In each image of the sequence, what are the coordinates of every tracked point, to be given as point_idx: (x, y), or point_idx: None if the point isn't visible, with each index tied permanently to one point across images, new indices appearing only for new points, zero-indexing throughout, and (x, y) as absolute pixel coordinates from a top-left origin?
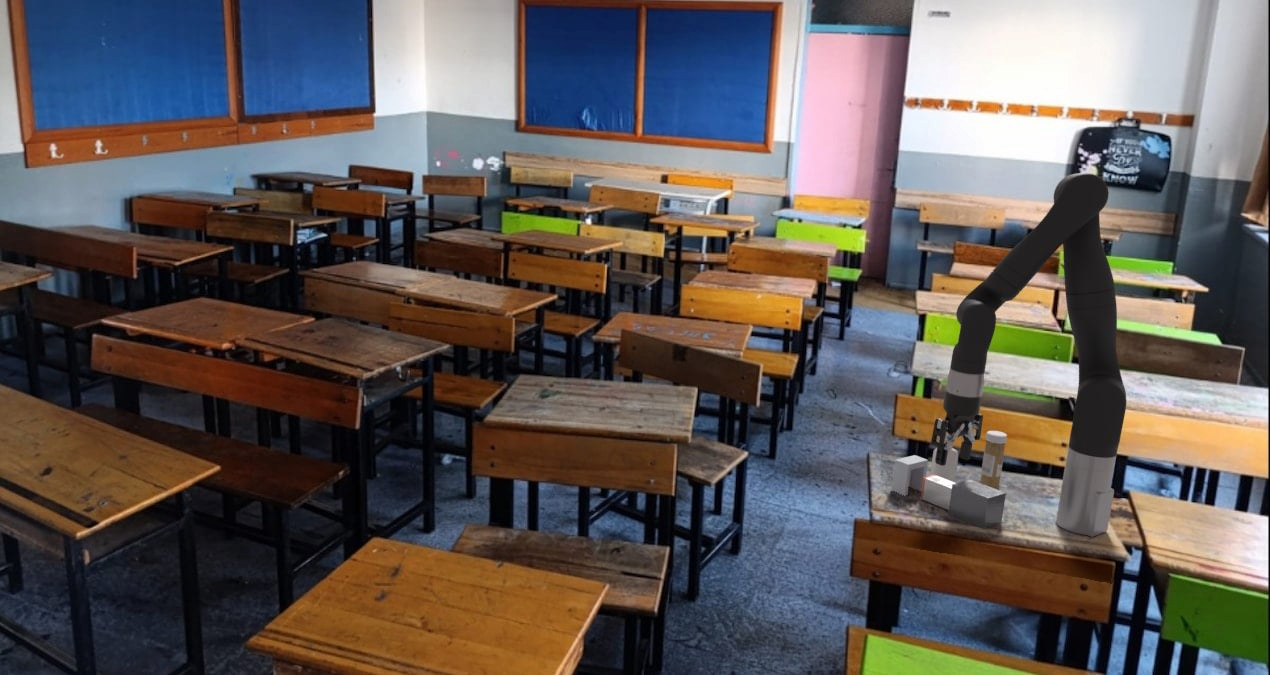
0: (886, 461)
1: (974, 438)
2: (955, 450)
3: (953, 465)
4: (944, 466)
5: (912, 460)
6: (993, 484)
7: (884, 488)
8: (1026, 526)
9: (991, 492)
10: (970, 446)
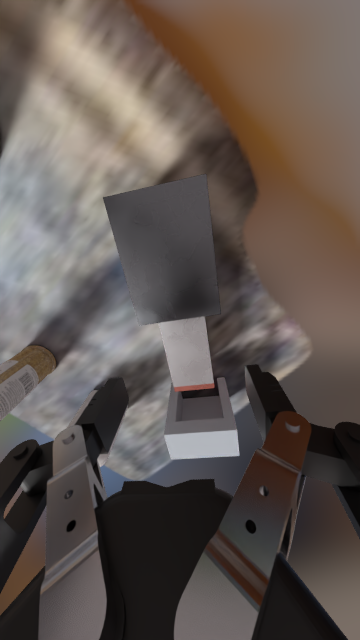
0: (143, 468)
1: (53, 452)
2: None
3: None
4: None
5: (203, 442)
6: (34, 353)
7: None
8: (86, 172)
9: (150, 219)
10: (93, 416)
